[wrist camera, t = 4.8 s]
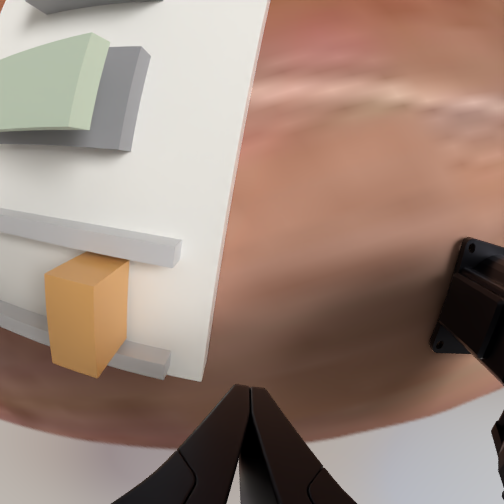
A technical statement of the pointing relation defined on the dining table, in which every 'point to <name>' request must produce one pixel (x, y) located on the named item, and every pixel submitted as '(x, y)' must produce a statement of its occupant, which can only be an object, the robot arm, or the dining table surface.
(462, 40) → the dining table surface
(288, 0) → the dining table surface
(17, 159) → the panel
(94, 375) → the orange rectangular block
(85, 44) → the rocker
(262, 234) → the dining table surface
